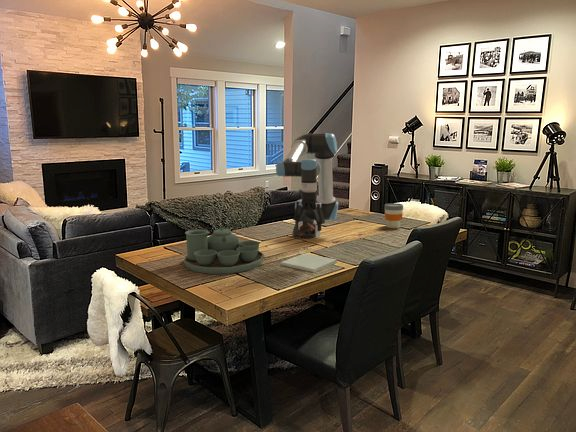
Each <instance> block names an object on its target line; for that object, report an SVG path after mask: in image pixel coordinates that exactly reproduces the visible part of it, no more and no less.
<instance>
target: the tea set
mask: <svg viewBox="0 0 576 432" xmlns="http://www.w3.org/2000/svg"><path fill="white" fill-rule="evenodd" d="M210 233H211V232H210V231H208V230H206V229H191V230H187V231H185V232H184V234H185V236H186V252H187V253H186V255H185V256H184V264H183V265H184V266H186V267H185V268H187V269H188V270H191V271H193V272H194V273H203V274H207V275H208V274H210V275H223V274H227V275H228V274H229V275H231V274H235V273H236V274H237V273H241V272H246V271H247V272H248V271H250V270H253V269H255V268H257V267H259V266H261V265H262V263H263V261H264V258H265V256H264V255H265V254H264V253H263V252H262V251H260V249H259V248H260V245H261V242H259V241H257V240H243V241H239V237H238V236H237V235H236V234H234V233H232V231H231V230H230V229H229V228H228V229H226V228H224V227H221V228H218V229H215V230H213V232H212V234H210ZM209 234H210V235H209ZM208 235H209V236H208Z"/></svg>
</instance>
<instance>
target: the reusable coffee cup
mask: <svg viewBox="0 0 576 432" xmlns="http://www.w3.org/2000/svg"><path fill="white" fill-rule="evenodd" d="M383 209H384V220H385V224H386V228H389V229H398V228H400V227H401V222H402V220H403V210H404V205H403V204H402V203H397V202H396V203H392V202H391V203H385V204H384V208H383Z"/></svg>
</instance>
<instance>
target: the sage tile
mask: <svg viewBox="0 0 576 432" xmlns="http://www.w3.org/2000/svg"><path fill="white" fill-rule="evenodd" d="M336 263H338V260H337V259H336V258H331V257H324V256H320V255H316V254H311V253H310V254H309V253H302V254H299V255H296V256H294V257H291V258H289V259H286V260H284V261H280V265H281V266H284V267H289V268H293V269H298V270H302V271H306V272H311V273H316V272H318V271H321V270H323V269H325V268H328V267H329V266H332V265H334V264H336Z"/></svg>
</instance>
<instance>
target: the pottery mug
mask: <svg viewBox="0 0 576 432" xmlns="http://www.w3.org/2000/svg"><path fill="white" fill-rule="evenodd" d="M297 231H298V235H299V236H301V234H304V235H305V231H309V232H311V234H315V235H314V236H315V237H314V239H315V240H317V239H318V238H316V224H315V223H314V224H310V223H306V224H304V225H302V226H301V227H300V230H299V229H297Z"/></svg>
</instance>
